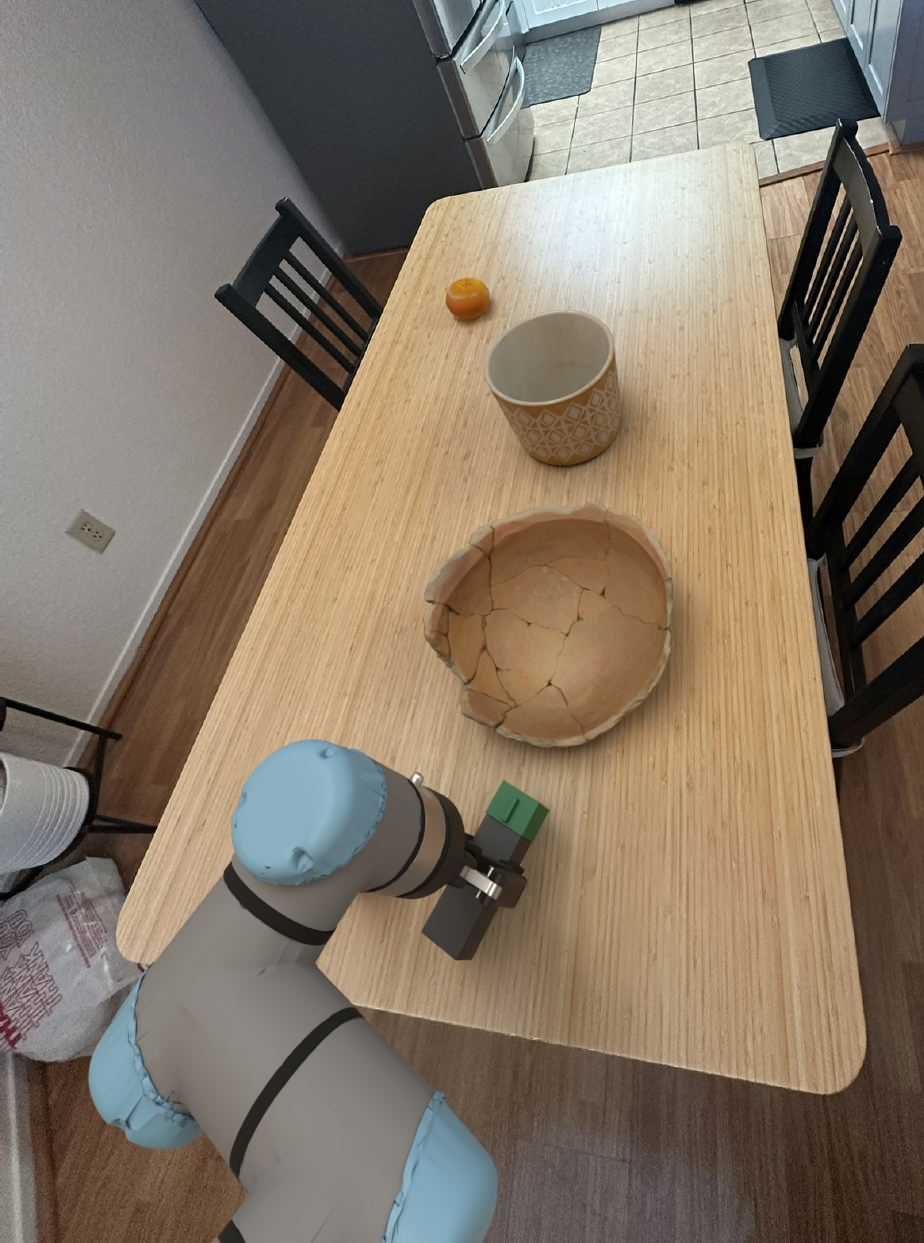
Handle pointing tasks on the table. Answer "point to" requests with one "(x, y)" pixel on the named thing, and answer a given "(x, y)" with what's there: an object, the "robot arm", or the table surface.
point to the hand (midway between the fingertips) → (495, 866)
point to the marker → (500, 837)
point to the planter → (557, 385)
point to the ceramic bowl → (554, 621)
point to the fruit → (468, 298)
